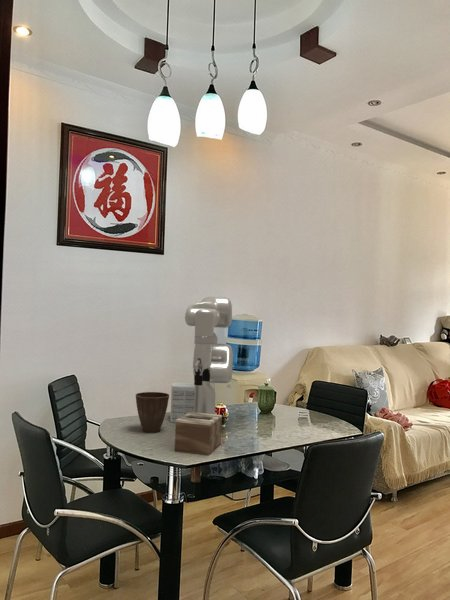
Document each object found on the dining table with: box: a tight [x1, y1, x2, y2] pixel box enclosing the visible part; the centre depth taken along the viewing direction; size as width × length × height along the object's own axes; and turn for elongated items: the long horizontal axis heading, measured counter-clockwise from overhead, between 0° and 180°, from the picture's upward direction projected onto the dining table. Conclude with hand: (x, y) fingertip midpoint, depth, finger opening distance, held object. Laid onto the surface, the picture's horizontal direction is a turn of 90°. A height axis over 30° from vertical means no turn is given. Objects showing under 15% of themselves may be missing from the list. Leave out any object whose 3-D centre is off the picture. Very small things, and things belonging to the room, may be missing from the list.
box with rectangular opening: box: [174, 412, 223, 456], centre depth 204 cm, size 16×14×12 cm
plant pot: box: [135, 391, 170, 433], centre depth 228 cm, size 15×15×16 cm
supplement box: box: [170, 381, 195, 423], centre depth 252 cm, size 13×13×18 cm
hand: (202, 383), depth 205 cm, fingers open, 9 cm apart
